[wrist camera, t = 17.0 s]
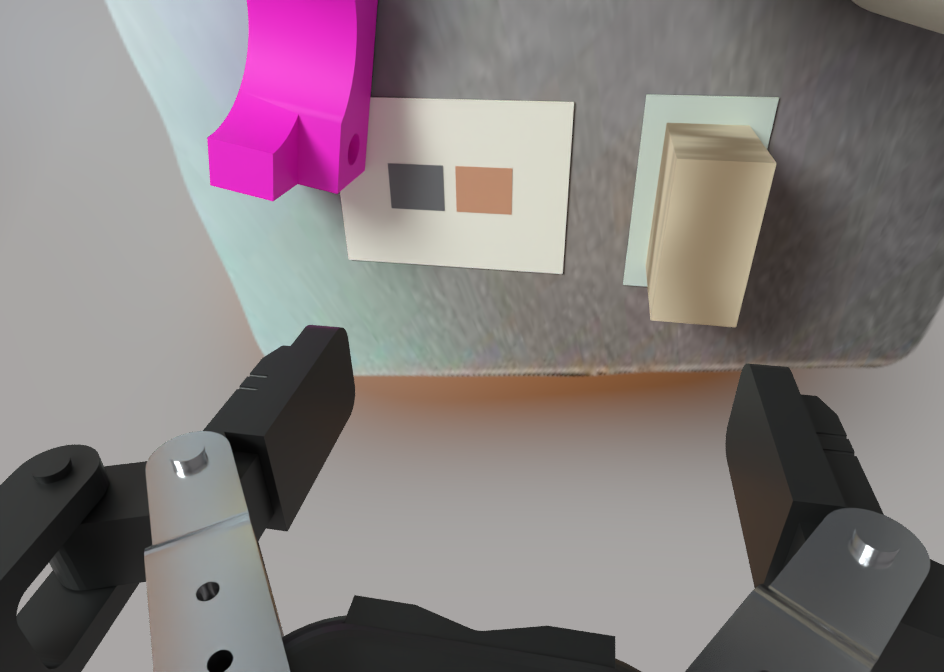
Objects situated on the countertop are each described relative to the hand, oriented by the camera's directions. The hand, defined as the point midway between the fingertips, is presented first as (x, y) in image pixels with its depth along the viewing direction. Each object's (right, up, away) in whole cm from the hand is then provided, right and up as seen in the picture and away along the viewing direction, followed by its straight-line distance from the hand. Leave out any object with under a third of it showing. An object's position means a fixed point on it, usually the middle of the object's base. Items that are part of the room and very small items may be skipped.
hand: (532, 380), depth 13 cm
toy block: (-10, +19, +24) cm, 32 cm away
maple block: (+12, +9, +25) cm, 29 cm away
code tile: (-3, +10, +28) cm, 30 cm away
